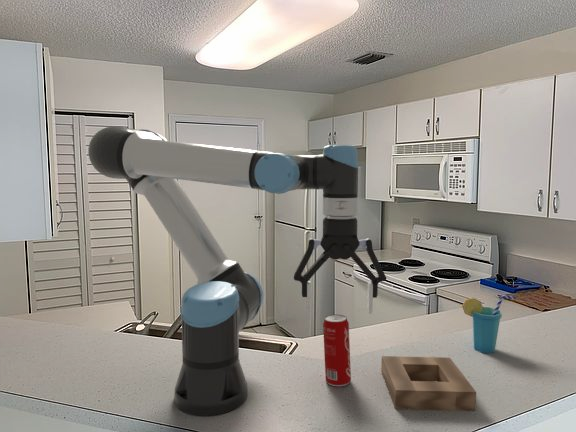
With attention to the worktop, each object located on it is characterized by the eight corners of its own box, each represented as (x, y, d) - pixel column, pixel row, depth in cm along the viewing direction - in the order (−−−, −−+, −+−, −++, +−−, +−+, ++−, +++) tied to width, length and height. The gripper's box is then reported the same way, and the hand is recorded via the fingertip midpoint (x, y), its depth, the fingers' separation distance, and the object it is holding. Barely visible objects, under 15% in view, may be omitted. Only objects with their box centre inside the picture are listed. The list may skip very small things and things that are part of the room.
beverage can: (350, 389, 96) (351, 323, 95) (320, 386, 98) (321, 320, 96) (351, 376, 102) (353, 314, 101) (323, 373, 104) (324, 312, 102)
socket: (395, 408, 89) (395, 390, 88) (381, 372, 105) (381, 356, 104) (475, 411, 88) (476, 392, 88) (449, 373, 104) (449, 357, 104)
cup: (503, 342, 123) (506, 290, 121) (520, 354, 115) (524, 298, 114) (455, 344, 122) (458, 291, 120) (469, 356, 114) (472, 300, 112)
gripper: (282, 218, 93) (282, 316, 95) (401, 218, 92) (399, 317, 94) (283, 215, 100) (284, 305, 102) (394, 215, 99) (392, 306, 101)
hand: (339, 311), depth 98 cm, fingers open, 13 cm apart
